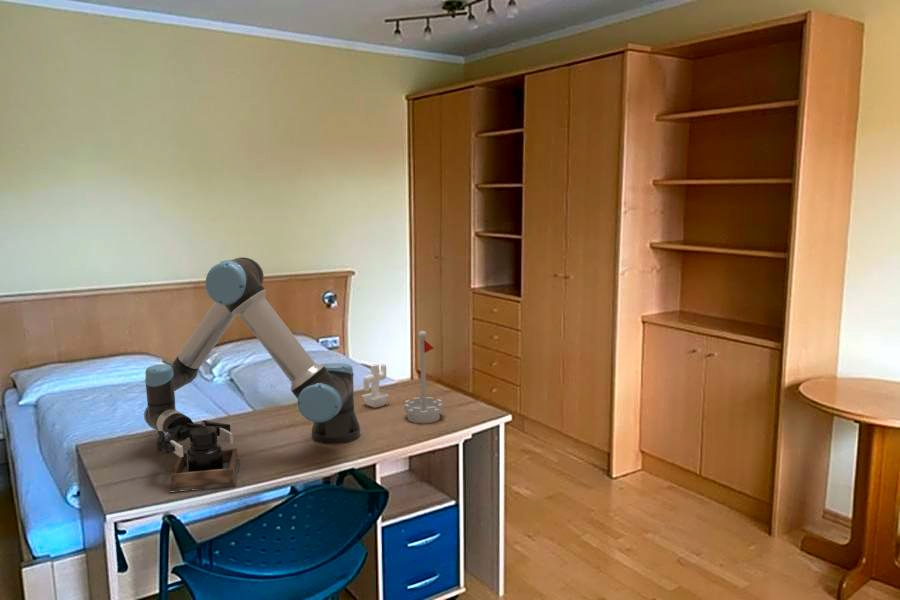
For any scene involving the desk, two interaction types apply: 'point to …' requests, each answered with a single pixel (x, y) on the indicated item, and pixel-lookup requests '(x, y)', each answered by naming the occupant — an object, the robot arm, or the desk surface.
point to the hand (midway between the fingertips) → (207, 445)
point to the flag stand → (423, 394)
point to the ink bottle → (204, 450)
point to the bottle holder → (206, 474)
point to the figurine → (375, 387)
